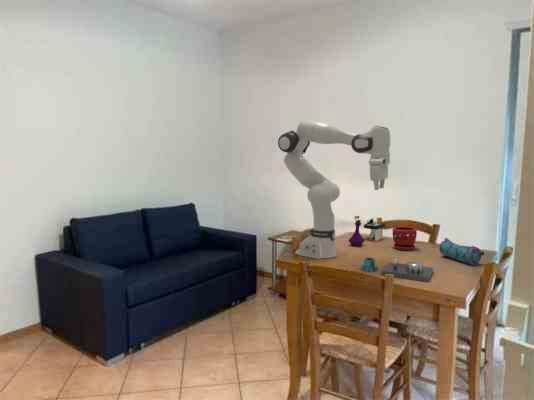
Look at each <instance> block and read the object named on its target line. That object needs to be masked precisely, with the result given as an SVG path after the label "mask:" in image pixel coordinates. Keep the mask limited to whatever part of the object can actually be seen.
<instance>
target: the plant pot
mask: <svg viewBox="0 0 534 400" xmlns="http://www.w3.org/2000/svg"><path fill="white" fill-rule="evenodd" d="M417 232H418V230H417V228H416V227H410V226H409V227H408V226H396V227H393V228H392V240H393V243H394V244H393V247H394V248H395V249H397V250H402V251H412V250H414V249H415V248H416V245H415V243H416V240H417V236H418V235H417V234H418V233H417Z"/></svg>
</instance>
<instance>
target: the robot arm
mask: <svg viewBox="0 0 534 400" xmlns="http://www.w3.org/2000/svg"><path fill="white" fill-rule="evenodd" d="M390 131H391V130H390V129H389V128H388V127H384V126H379V125H374V126H372V127H371V128H370V129H369V130H367V131H364V132H361V133H359V134H356V133H352V132H348V131H345V130H342V129H340V128H338V127H335V126H333V125H332V124H329V123H325V122H322V121H319V120H313V119H304V120H301V121H300V122H299V123H298V126H297V128H296V130H295V131H294V130H290V131H288V132H284V133H283V134H281V135H280V136H279V138H278V140H277V146H278V148H279V150H280V151H281V152H283V153H286V155H284V158H283V162H284V165H285V166H286V168H287V169H288V171H289V172H290V173H291V174H292V176H293V177H294V178H295V179H296V180H297V181H298V182H299V183H300V185H302V186H303V187H305V188H306V189H308V190H307V200H308V201H309V202H310V204H311V209H312V216H313V227H312V228H311V229H310V230H309V232H308V233H309V234H310V235H308V236H307V237H306V238H304V239H303V240H302V241H301V242H300V243H299V244H300V245H299V249H297V250H295V253H294V254H295V255H296V254H297V256H301V257H307V258H310V259H311V258H312V259H317V260H319V259H330V258H335V257H337V255H338V254H337V251H336V243H335V239H336V229H335V214H334V212H333V210H332V204H331V203H333V202H335V201H336V200H337V199H338V198H339V197H340V194H341V191H340V190H341V189H340V187H339V186H338V185H337V184H336V183H334V182H332V181H331V180H330V179H328V178H327V176H324V175H323V174H322V173H320V172H319V171H318V170H317V169H316V168H315V167H314V166H313V165H312V164H311V163H310V162H309V161H308V160H307V158H305V156H304V154H305V153H306V151H307V149H308V148H309V146H310V144H311V143H316V144H321V145H332V144H333V145H334V144H339V145H340V144H341V145H342V144H343V145H346V146H351V148H352V150H353V151H354V152H355V153H358V154H367V155H370V158H369V160H368V165H369V177H370V178H369V179H370V181H371V182H373V185H374V191H379V190H380V189H384V188H385V187H384V186H385V182H386V179H388V177H389V166H388V165H390V162H391V160H390V159H391V158H390V157H391V153H390V146H391V133H390Z"/></svg>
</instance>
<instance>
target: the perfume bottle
mask: <svg viewBox="0 0 534 400" xmlns="http://www.w3.org/2000/svg"><path fill="white" fill-rule="evenodd" d="M354 219H355V223H354V226H355V231H354V232H353V234H352V236H350V238H349V239H348V243H350V245H351V246H352V247H361V246H363V244H364V242H365V238H364V237H363V236H362V235H361V233H360V227H361V225H362V223H361V222H362V221H361V219H360V216H359V215H354Z"/></svg>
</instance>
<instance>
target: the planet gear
mask: <svg viewBox="0 0 534 400" xmlns="http://www.w3.org/2000/svg"><path fill="white" fill-rule="evenodd" d="M360 270H362V271H363V272H364V271H365V272H371V273H373V272H377V271H378V272H379V266H378V265H376V258H373V257H365V258H364V259H363V264H361V266H360Z"/></svg>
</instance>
